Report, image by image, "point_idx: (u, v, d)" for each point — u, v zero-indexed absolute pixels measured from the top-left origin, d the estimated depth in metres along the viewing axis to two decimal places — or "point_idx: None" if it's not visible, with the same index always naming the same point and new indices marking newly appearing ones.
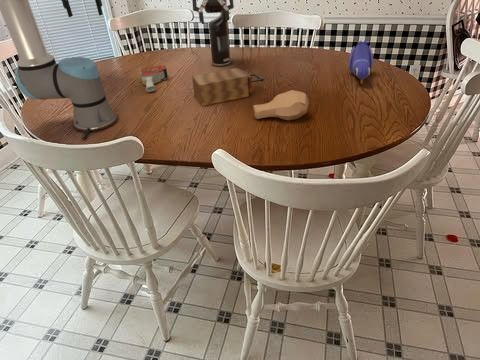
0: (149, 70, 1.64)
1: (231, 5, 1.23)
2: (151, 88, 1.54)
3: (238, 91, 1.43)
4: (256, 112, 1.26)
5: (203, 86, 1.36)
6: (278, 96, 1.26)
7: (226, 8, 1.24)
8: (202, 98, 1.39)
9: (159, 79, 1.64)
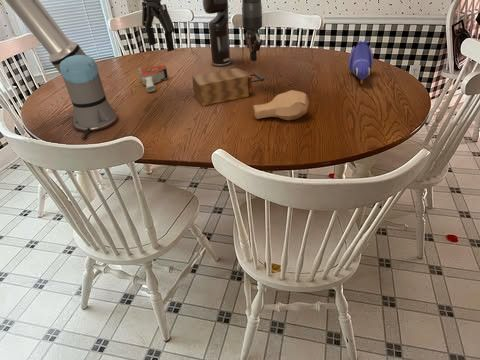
0: (149, 70, 1.64)
1: (252, 48, 1.39)
2: (151, 88, 1.54)
3: (238, 91, 1.43)
4: (256, 112, 1.26)
5: (203, 86, 1.36)
6: (278, 96, 1.26)
7: (250, 49, 1.41)
8: (202, 98, 1.39)
9: (159, 79, 1.64)
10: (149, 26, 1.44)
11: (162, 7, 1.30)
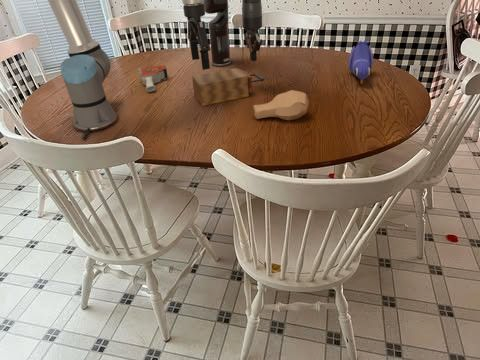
0: (149, 70, 1.64)
1: (252, 48, 1.39)
2: (151, 88, 1.54)
3: (238, 91, 1.43)
4: (256, 112, 1.26)
5: (203, 86, 1.36)
6: (278, 96, 1.26)
7: (250, 49, 1.41)
8: (202, 98, 1.39)
9: (159, 79, 1.64)
10: (193, 40, 1.39)
11: (199, 24, 1.23)
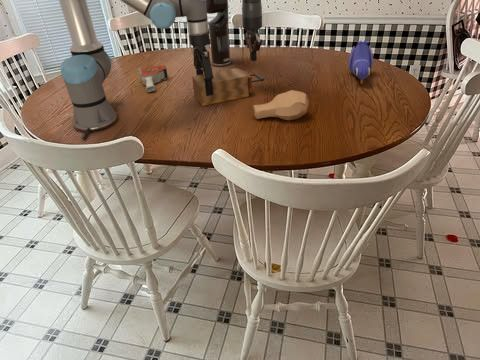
0: (149, 70, 1.64)
1: (252, 48, 1.39)
2: (151, 88, 1.54)
3: (238, 91, 1.43)
4: (256, 112, 1.26)
5: (203, 86, 1.36)
6: (278, 96, 1.26)
7: (250, 49, 1.41)
8: (202, 98, 1.39)
9: (159, 79, 1.64)
10: (199, 68, 1.44)
11: (204, 54, 1.29)
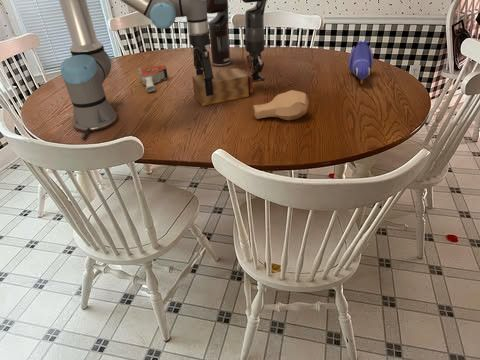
0: (149, 70, 1.64)
1: (254, 70, 1.44)
2: (151, 88, 1.54)
3: (238, 91, 1.43)
4: (256, 112, 1.26)
5: (203, 86, 1.36)
6: (278, 96, 1.26)
7: (253, 71, 1.46)
8: (202, 98, 1.39)
9: (159, 79, 1.64)
10: (199, 68, 1.44)
11: (204, 54, 1.29)
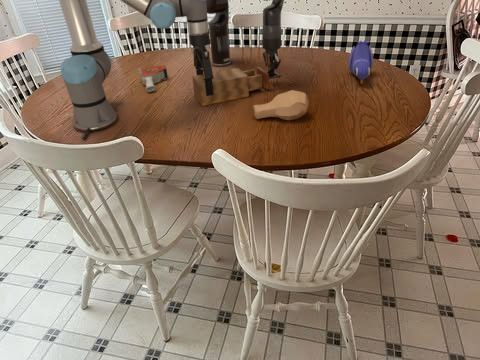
0: (149, 70, 1.64)
1: (271, 67, 1.46)
2: (151, 88, 1.54)
3: (238, 91, 1.43)
4: (256, 112, 1.26)
5: (203, 86, 1.36)
6: (278, 96, 1.26)
7: (269, 68, 1.48)
8: (202, 98, 1.39)
9: (159, 79, 1.64)
10: (199, 68, 1.44)
11: (204, 54, 1.29)
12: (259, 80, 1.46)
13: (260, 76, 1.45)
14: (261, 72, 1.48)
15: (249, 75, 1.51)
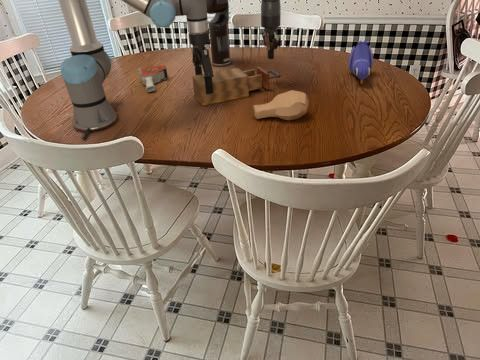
0: (149, 70, 1.64)
1: (270, 47, 1.41)
2: (151, 88, 1.54)
3: (238, 91, 1.43)
4: (256, 112, 1.26)
5: (203, 86, 1.36)
6: (278, 96, 1.26)
7: (268, 48, 1.43)
8: (202, 98, 1.39)
9: (159, 79, 1.64)
10: (198, 64, 1.44)
11: (204, 52, 1.28)
12: (259, 80, 1.46)
13: (260, 76, 1.45)
14: (261, 72, 1.48)
15: (249, 75, 1.51)
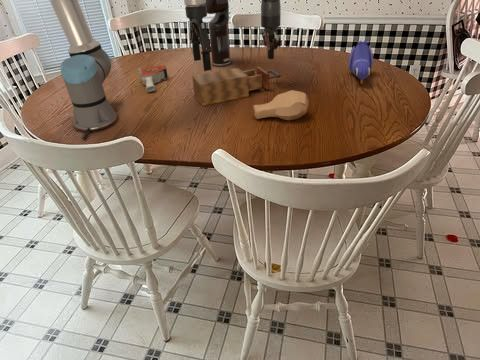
0: (149, 70, 1.64)
1: (270, 47, 1.41)
2: (151, 88, 1.54)
3: (238, 91, 1.43)
4: (256, 112, 1.26)
5: (203, 86, 1.36)
6: (278, 96, 1.26)
7: (268, 48, 1.43)
8: (202, 98, 1.39)
9: (159, 79, 1.64)
10: (195, 41, 1.39)
11: (201, 26, 1.23)
12: (259, 80, 1.46)
13: (260, 76, 1.45)
14: (261, 72, 1.48)
15: (249, 75, 1.51)
